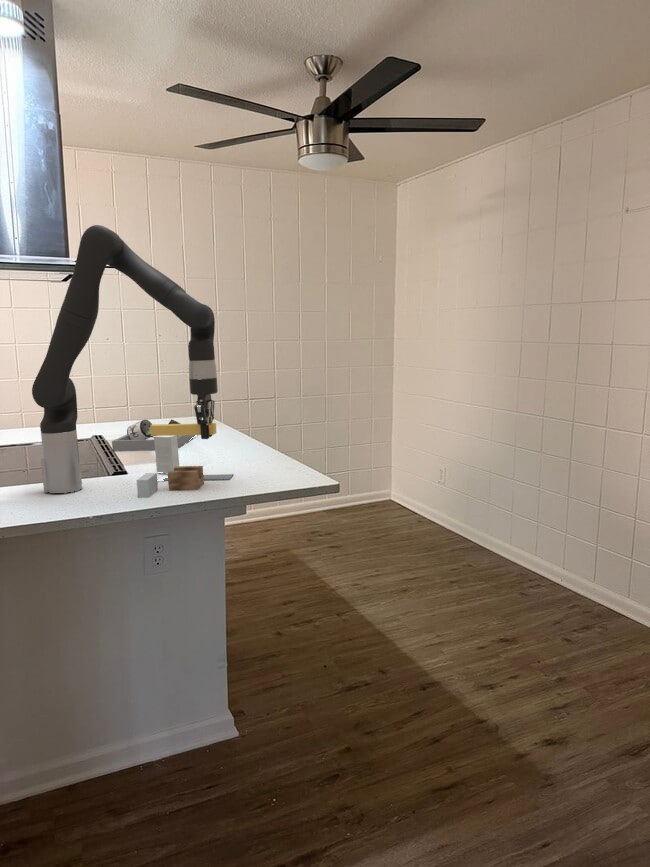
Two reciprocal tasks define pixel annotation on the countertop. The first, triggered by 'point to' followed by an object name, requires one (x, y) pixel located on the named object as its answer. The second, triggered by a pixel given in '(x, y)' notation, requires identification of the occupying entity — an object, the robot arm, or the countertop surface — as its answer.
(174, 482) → the cradle
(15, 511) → the countertop surface
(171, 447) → the skincare box
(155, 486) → the gray rectangular block
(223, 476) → the mat
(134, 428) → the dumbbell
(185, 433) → the yellow bar
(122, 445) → the bucket corral
